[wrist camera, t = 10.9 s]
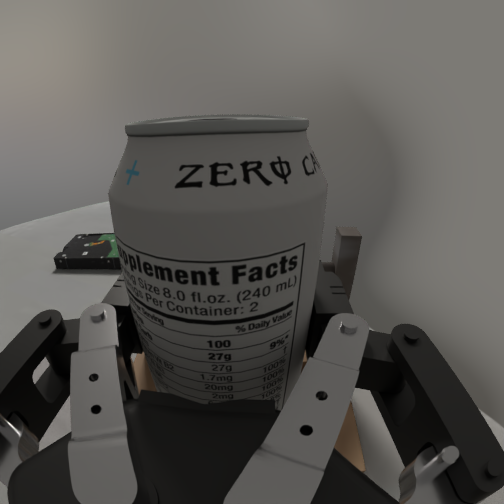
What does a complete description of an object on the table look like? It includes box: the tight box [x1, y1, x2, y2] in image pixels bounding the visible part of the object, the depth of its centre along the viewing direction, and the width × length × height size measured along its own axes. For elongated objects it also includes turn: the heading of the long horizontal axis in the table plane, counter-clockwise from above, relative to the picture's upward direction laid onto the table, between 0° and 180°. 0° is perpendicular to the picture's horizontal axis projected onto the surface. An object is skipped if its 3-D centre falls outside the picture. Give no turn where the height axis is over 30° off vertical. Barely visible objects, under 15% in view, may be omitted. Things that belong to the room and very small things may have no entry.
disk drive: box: [54, 233, 122, 269], centre depth 50 cm, size 10×3×15 cm
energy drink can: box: [108, 115, 328, 411], centre depth 11 cm, size 6×6×15 cm
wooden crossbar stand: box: [133, 227, 366, 473], centre depth 22 cm, size 20×19×16 cm
